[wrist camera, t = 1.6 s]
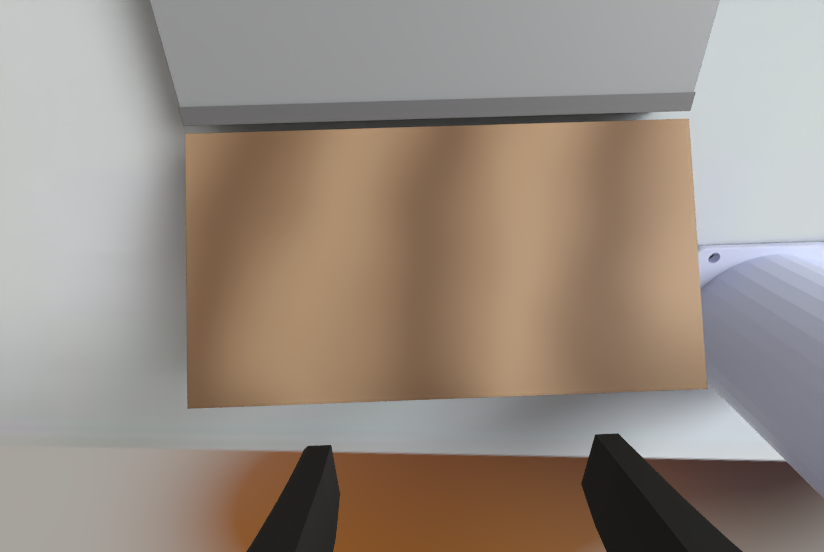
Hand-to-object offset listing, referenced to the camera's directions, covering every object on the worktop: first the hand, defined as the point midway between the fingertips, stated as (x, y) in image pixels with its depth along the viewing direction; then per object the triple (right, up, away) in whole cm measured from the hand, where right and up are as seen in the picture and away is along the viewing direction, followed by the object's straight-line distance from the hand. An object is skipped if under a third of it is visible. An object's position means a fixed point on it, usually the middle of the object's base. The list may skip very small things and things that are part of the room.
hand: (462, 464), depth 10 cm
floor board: (-1, +15, +3) cm, 15 cm away
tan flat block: (0, +6, +5) cm, 7 cm away
